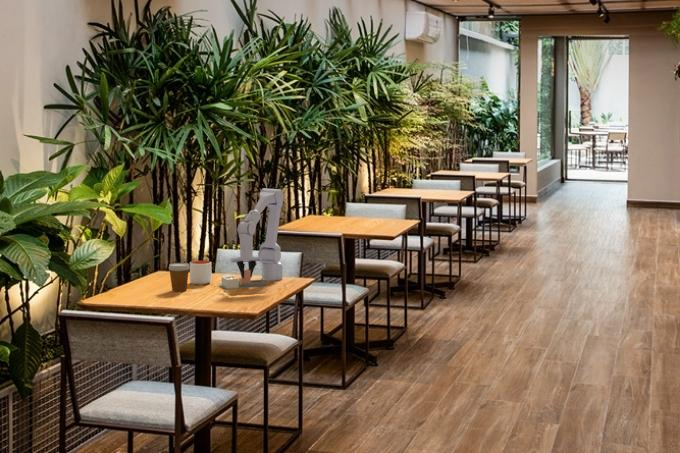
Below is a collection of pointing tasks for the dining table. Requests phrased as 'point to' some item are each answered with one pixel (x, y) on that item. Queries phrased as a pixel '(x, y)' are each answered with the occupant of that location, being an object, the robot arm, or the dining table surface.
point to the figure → (245, 277)
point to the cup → (200, 272)
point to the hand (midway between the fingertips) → (246, 277)
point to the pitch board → (235, 284)
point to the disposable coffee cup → (179, 276)
